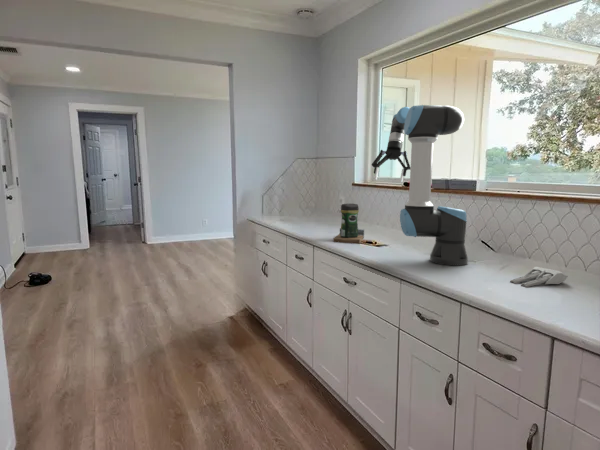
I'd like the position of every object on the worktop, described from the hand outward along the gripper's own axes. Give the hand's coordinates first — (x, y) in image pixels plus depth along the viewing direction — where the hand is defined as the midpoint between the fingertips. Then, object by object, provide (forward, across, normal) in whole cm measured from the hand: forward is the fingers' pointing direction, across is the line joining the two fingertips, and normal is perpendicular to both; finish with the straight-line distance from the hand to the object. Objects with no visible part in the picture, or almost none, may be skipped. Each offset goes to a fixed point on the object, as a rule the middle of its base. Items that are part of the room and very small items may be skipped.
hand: (388, 180), depth 198 cm
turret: (+44, -68, +34) cm, 88 cm away
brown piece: (+33, +18, -11) cm, 39 cm away
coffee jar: (+32, +18, -9) cm, 37 cm away
